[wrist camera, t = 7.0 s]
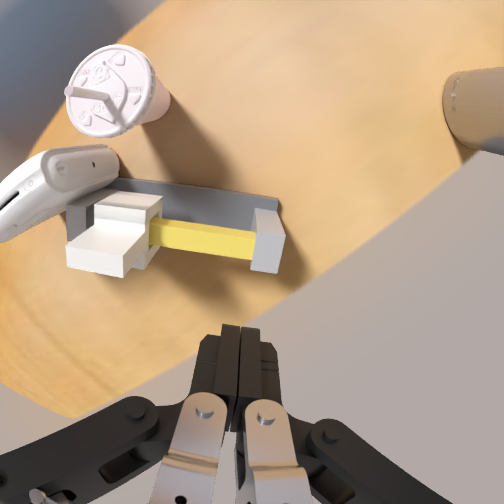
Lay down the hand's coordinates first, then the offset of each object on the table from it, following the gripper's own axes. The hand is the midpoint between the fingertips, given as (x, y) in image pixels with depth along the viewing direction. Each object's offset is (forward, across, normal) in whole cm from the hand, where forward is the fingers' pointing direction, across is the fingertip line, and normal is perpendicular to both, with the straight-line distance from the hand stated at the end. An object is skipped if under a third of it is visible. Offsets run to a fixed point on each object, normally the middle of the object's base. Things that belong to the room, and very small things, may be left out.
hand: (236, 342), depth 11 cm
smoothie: (+18, +10, -10) cm, 23 cm away
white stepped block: (+13, +9, 0) cm, 16 cm away
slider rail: (+17, +6, 0) cm, 18 cm away
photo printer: (+17, +17, -2) cm, 24 cm away
